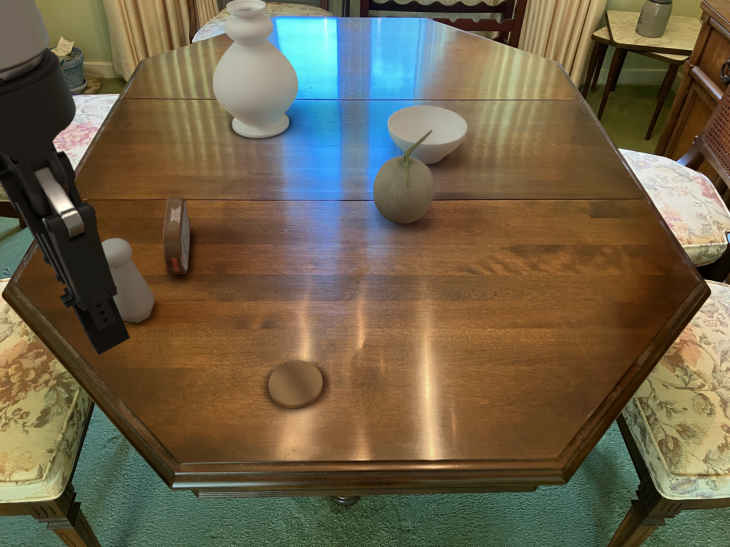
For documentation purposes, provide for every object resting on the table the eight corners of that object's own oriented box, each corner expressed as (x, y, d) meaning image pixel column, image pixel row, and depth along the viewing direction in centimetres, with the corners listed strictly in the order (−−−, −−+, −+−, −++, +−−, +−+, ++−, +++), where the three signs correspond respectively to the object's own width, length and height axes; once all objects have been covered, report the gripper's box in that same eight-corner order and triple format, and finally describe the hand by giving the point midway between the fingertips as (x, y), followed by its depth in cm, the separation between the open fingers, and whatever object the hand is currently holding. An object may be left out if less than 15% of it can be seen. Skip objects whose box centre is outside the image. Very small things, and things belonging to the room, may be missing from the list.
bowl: (396, 179, 108) (398, 147, 103) (378, 138, 119) (379, 108, 114) (473, 172, 110) (479, 140, 105) (449, 132, 121) (453, 102, 117)
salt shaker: (146, 330, 79) (120, 262, 70) (109, 324, 79) (78, 257, 70) (164, 301, 83) (142, 234, 74) (128, 296, 83) (102, 229, 74)
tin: (176, 227, 96) (164, 186, 90) (194, 225, 96) (184, 185, 90) (169, 287, 85) (156, 245, 79) (190, 285, 85) (179, 243, 80)
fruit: (372, 238, 94) (374, 162, 84) (372, 198, 103) (374, 125, 93) (433, 239, 94) (443, 163, 84) (428, 199, 103) (436, 127, 93)
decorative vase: (296, 145, 116) (286, 22, 99) (212, 143, 116) (188, 20, 99) (304, 106, 129) (297, -9, 112) (229, 104, 129) (210, -11, 112)
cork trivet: (290, 418, 69) (290, 414, 68) (258, 383, 72) (257, 380, 72) (333, 387, 72) (333, 383, 71) (300, 355, 76) (300, 351, 75)
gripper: (98, 79, 28) (191, 363, 44) (12, 13, 35) (119, 280, 51) (-67, 127, 24) (100, 418, 41) (-128, 41, 31) (35, 320, 47)
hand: (110, 341), depth 46 cm, fingers closed
